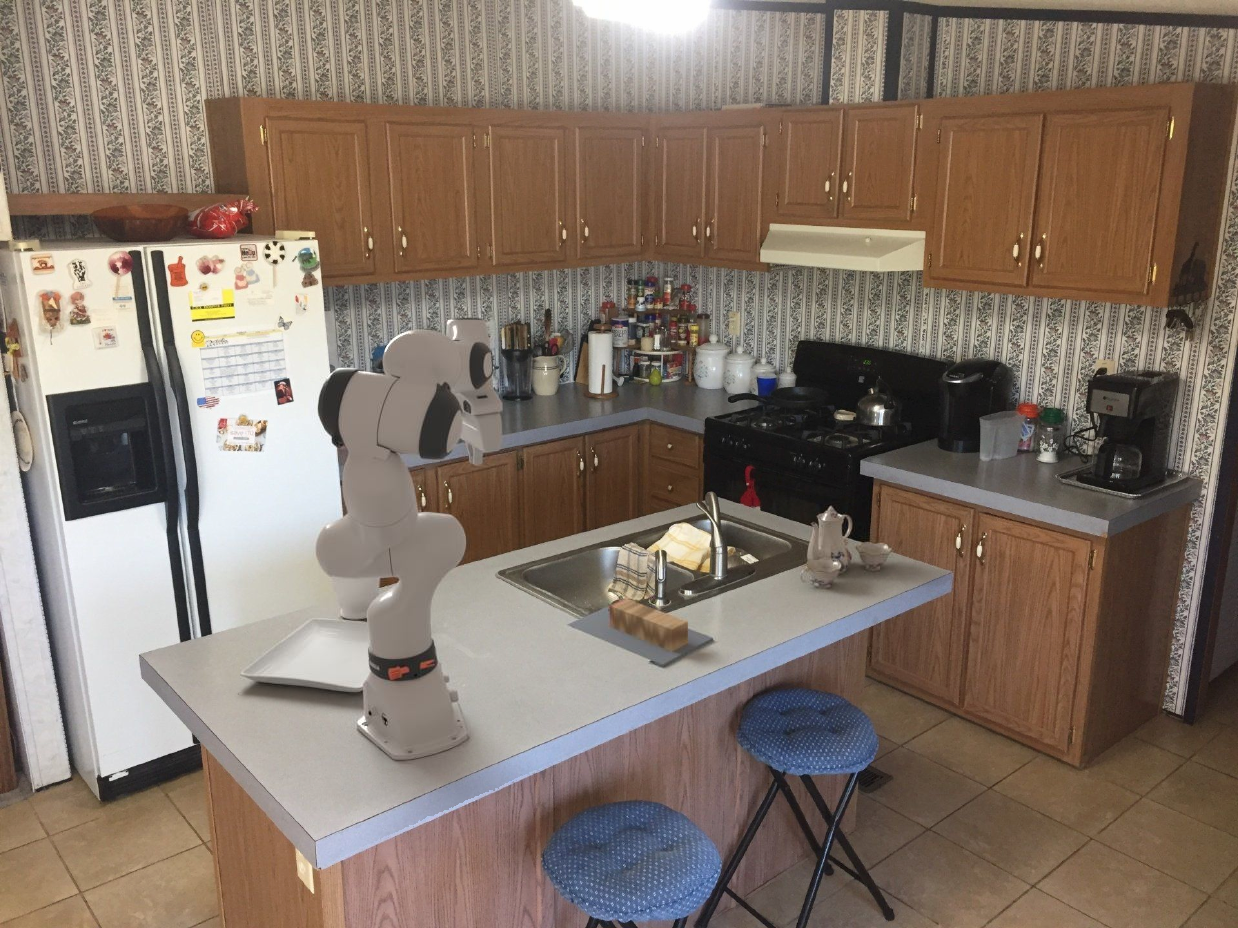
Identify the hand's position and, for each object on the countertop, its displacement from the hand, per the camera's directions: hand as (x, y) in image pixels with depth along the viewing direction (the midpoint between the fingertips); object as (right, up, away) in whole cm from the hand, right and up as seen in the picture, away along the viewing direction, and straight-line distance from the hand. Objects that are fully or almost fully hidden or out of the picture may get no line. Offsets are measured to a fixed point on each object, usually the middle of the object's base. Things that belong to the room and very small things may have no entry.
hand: (476, 463), depth 208 cm
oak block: (+29, -32, +15) cm, 46 cm away
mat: (+33, -37, +11) cm, 51 cm away
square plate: (-29, -42, +2) cm, 51 cm away
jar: (-30, -34, +25) cm, 52 cm away
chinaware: (+83, -27, +41) cm, 96 cm away
